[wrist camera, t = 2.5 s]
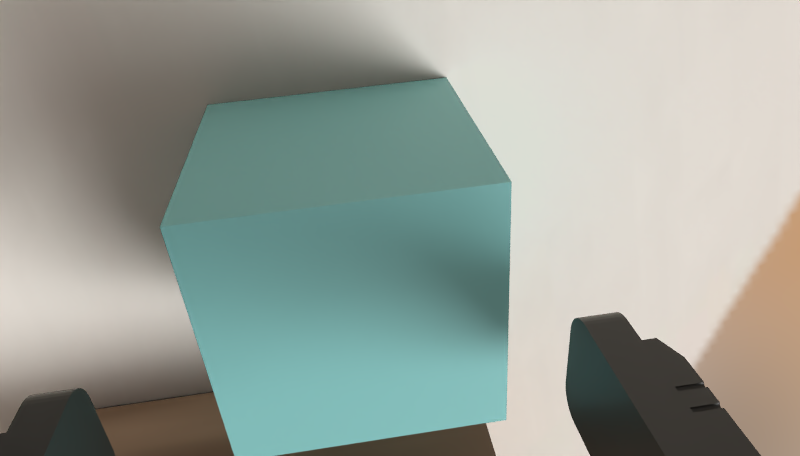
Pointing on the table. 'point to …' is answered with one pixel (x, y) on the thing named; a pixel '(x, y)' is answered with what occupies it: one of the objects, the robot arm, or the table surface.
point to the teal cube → (345, 265)
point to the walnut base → (210, 447)
